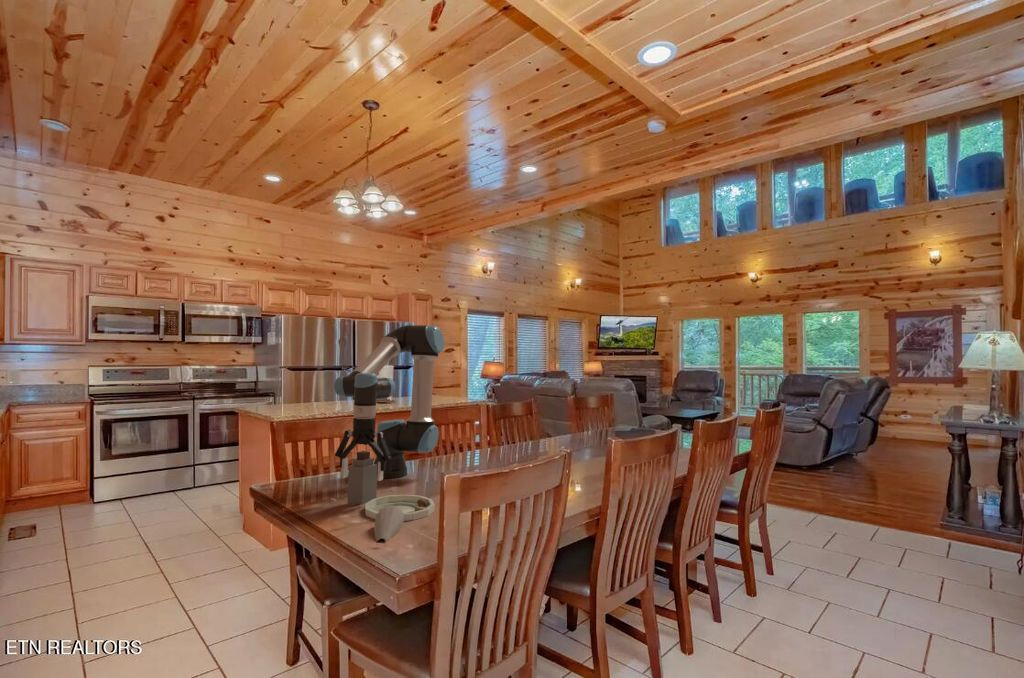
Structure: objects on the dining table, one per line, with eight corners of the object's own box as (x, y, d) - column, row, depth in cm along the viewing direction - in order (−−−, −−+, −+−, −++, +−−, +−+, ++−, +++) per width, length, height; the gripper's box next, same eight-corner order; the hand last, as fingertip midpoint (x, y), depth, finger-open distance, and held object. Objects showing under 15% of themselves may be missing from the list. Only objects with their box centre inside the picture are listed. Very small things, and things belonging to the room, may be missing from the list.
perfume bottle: (347, 505, 178) (349, 452, 178) (361, 500, 183) (363, 449, 184) (362, 508, 174) (363, 454, 175) (376, 503, 180) (377, 451, 181)
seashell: (391, 559, 150) (401, 510, 161) (406, 547, 143) (416, 496, 153) (363, 551, 147) (375, 502, 158) (377, 539, 140) (389, 488, 150)
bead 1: (419, 504, 176) (419, 498, 176) (427, 505, 175) (427, 499, 175) (416, 507, 173) (416, 501, 173) (423, 507, 173) (424, 501, 173)
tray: (384, 501, 182) (384, 492, 183) (442, 507, 178) (443, 497, 178) (352, 521, 161) (352, 510, 161) (417, 528, 156) (418, 517, 156)
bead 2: (416, 512, 167) (417, 506, 167) (425, 513, 167) (425, 507, 167) (413, 515, 165) (413, 508, 165) (421, 516, 164) (421, 509, 164)
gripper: (326, 416, 179) (323, 478, 178) (392, 420, 173) (390, 484, 173) (338, 414, 186) (335, 473, 185) (402, 418, 181) (400, 479, 180)
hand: (362, 478), depth 179 cm, fingers open, 13 cm apart
